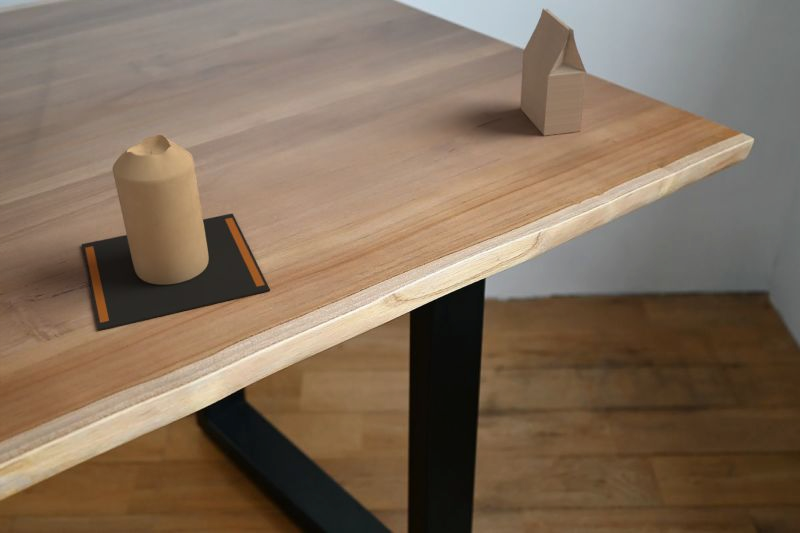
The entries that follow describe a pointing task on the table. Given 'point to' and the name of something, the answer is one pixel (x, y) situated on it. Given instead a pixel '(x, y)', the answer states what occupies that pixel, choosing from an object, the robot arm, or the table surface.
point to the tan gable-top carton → (553, 78)
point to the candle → (161, 211)
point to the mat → (138, 300)
